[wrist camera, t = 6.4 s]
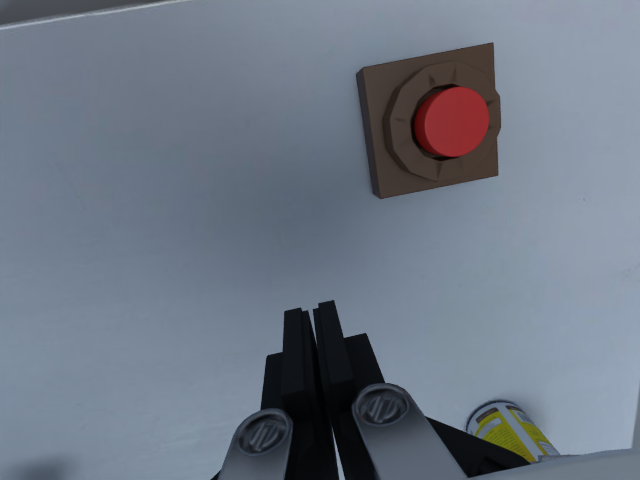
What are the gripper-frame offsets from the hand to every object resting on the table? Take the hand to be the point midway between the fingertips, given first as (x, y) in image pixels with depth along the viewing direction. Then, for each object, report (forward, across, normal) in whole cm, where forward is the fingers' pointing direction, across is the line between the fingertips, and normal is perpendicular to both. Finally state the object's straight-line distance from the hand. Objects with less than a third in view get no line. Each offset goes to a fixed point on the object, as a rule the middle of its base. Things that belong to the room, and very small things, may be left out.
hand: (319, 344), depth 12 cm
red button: (+11, -9, -5) cm, 16 cm away
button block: (+15, -10, -5) cm, 18 cm away
